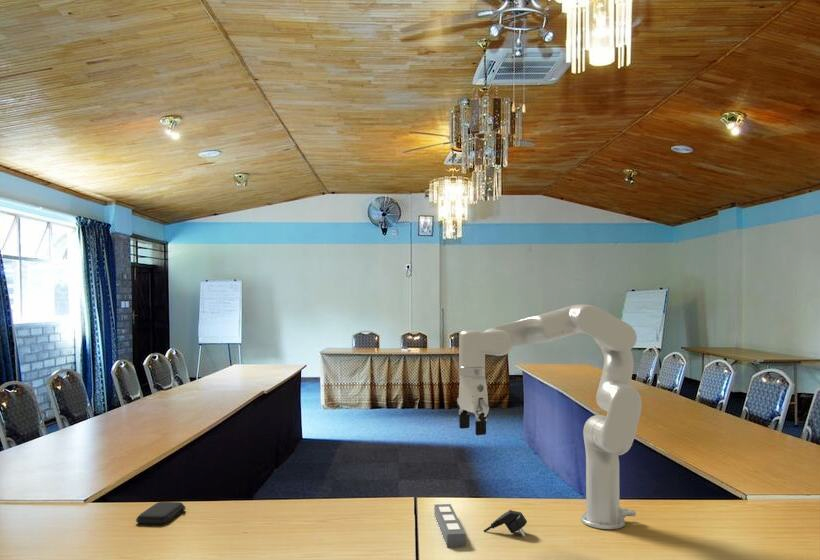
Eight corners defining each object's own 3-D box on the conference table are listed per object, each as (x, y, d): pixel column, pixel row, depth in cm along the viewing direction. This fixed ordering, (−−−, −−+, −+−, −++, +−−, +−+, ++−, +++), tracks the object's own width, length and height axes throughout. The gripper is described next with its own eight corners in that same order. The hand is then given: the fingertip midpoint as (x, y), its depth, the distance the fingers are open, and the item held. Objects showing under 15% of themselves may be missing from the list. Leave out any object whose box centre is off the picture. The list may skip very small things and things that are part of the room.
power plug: (483, 525, 180) (517, 503, 178) (498, 547, 179) (532, 526, 177) (481, 532, 174) (516, 510, 173) (497, 555, 173) (532, 533, 172)
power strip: (450, 515, 190) (450, 503, 190) (465, 546, 166) (465, 532, 166) (434, 516, 189) (434, 503, 189) (447, 547, 166) (447, 533, 166)
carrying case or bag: (168, 527, 180) (190, 510, 195) (168, 517, 180) (190, 500, 195) (133, 526, 181) (157, 509, 196) (133, 516, 181) (157, 499, 196)
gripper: (498, 375, 174) (499, 436, 174) (469, 368, 190) (469, 424, 190) (475, 376, 171) (475, 438, 171) (447, 370, 187) (447, 426, 187)
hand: (472, 431), depth 180 cm, fingers open, 9 cm apart
